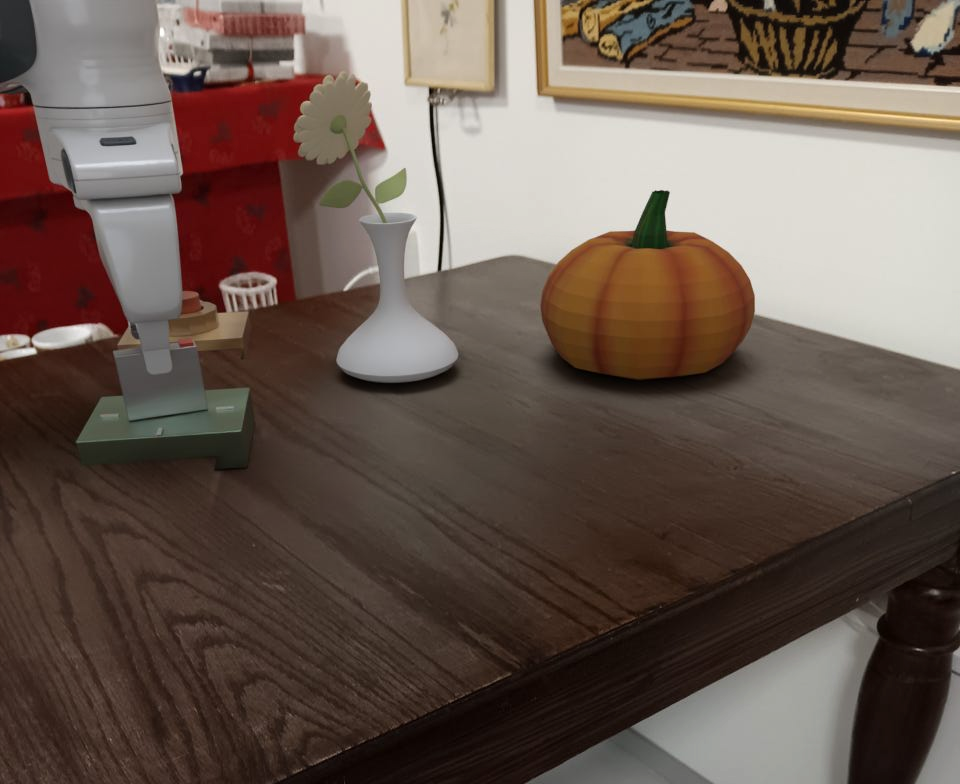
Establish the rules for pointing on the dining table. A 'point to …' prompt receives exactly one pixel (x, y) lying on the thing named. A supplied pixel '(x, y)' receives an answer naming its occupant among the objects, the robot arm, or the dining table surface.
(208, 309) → the button block
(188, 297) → the button
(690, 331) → the pumpkin
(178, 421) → the panel
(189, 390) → the grey panel
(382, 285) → the flower in vase
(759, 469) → the dining table surface
